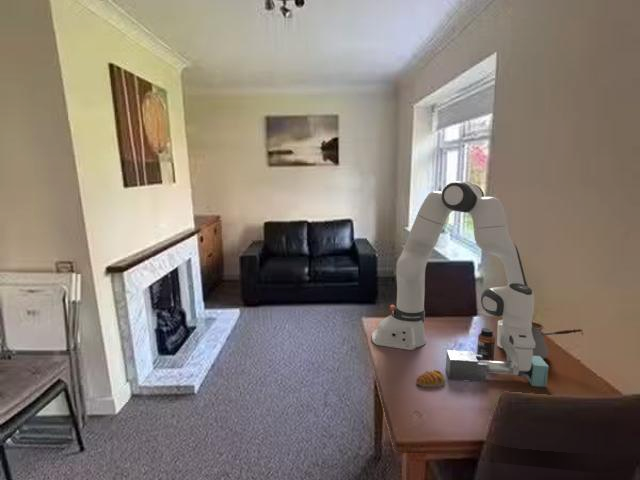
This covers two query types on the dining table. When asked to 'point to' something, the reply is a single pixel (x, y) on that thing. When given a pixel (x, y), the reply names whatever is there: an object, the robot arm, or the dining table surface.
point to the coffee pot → (539, 340)
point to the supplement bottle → (486, 344)
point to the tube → (503, 367)
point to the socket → (538, 372)
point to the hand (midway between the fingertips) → (512, 369)
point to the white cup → (499, 332)
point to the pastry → (431, 379)
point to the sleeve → (465, 366)
